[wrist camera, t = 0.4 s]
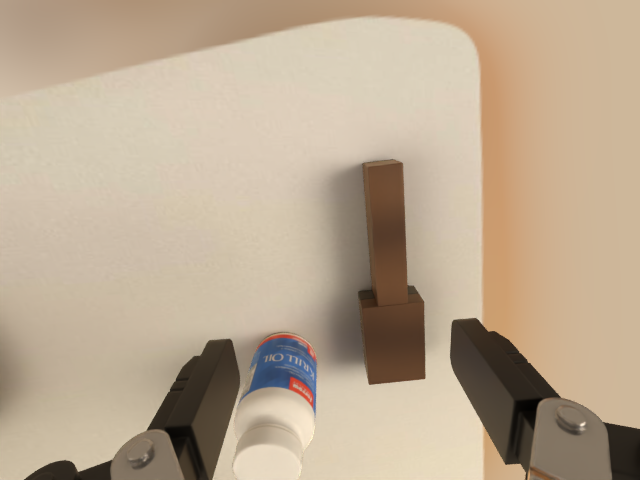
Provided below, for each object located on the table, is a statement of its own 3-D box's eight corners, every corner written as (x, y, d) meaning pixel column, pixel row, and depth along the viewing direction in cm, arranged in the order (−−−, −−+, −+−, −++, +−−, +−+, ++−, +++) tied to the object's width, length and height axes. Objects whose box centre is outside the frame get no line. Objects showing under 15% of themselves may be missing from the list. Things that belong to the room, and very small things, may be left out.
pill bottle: (325, 340, 27) (329, 449, 18) (305, 388, 28) (299, 511, 19) (263, 322, 26) (233, 425, 17) (246, 372, 28) (210, 491, 19)
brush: (415, 357, 27) (425, 379, 25) (364, 362, 28) (368, 385, 25) (410, 157, 22) (421, 160, 20) (345, 165, 22) (349, 169, 20)
